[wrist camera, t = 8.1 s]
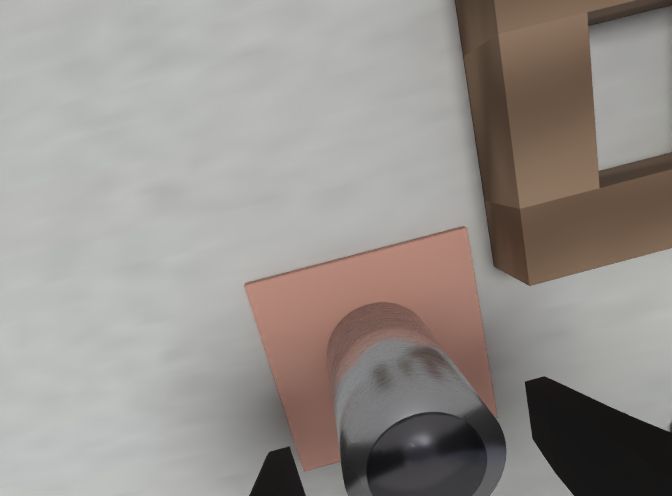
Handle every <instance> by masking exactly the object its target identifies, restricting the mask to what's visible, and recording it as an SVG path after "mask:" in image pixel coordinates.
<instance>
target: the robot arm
mask: <svg viewBox="0 0 672 496" xmlns="http://www.w3.org/2000/svg"><path fill="white" fill-rule="evenodd" d="M525 387H526V394H527V402H528V409H529V416H530V424H531V431H532V438H533V440H534V442H535V443H536V445H537V446H538V448H539V449H540V451H541V452H542V454H543V455H544V457H545V458H546V460H547V461H548V463H549V464H550V466H551V467H552V469H553V470H554V472H555V473H556V474H557V475H558V477H559V478H560V479H561V480H562V482H563V483H564V484H565V485H566V486H567V488H568V489H569V490H570V491H571V492H572V494H573V495H574V496H672V433H671V432H668V431H666V430H663V429H661V428H658V427H656V426H653V425H651V424H648V423H646V422H643V421H641V420H639V419H636V418H634V417H632V416H629V415H627V414H625V413H623V412H620V411H618V410H616V409H614V408H611V407H609V406H607V405H605V404H603V403H601V402H598V401H596V400H594V399H592V398H590V397H588V396H586V395H583V394H581V393H579V392H577V391H575V390H573V389H571V388H569V387H567V386H564V385H562V384H560V383H558V382H556V381H554V380H552V379H549V378H547V377H545V376H544V377H540V378H537V379H533V380H530V381H526V382H525ZM249 496H306V495H305V492H304V489H303V486H302V483H301V480H300V477H299V474H298V471H297V468H296V465H295V462H294V459H293V456H292V453H291V450H290V447H286V448H282V449H278V450H275V451H271V452H269V453H268V455H267V456H266V459H265V461H264V463H263V466H262V468H261V470H260V473H259V475H258V477H257V480H256V482H255V484H254V486H253V488H252V491H251V493H250V495H249Z"/></svg>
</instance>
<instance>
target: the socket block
mask: <svg viewBox="0 0 672 496" xmlns="http://www.w3.org/2000/svg"><path fill="white" fill-rule="evenodd" d="M455 2H456V9H457V16H458V22H459V29H460V36H461V43H462V50H463V57H464V63H465V70H466V77H467V84H468V91H469V97H470V104H471V111H472V118H473V125H474V132H475V138H476V145H477V152H478V159H479V166H480V173H481V179H482V186H483V193H484V200H485V207H486V214H487V220H488V227H489V234H490V241H491V248H492V254H493V261H494V267H496V268H498V269H500V270H502V271H503V272H505V273H507V274H509V275H511V276H512V277H514V278H516V279H518V280H520V281H521V282H523V283H525V284H527V285H529V286H531V285H535V284H539V283H542V282H546V281H550V280H554V279H557V278H561V277H565V276H569V275H572V274H576V273H580V272H584V271H587V270H591V269H595V268H599V267H602V266H606V265H610V264H614V263H617V262H621V261H625V260H628V259H632V258H636V257H640V256H643V255H647V254H651V253H655V252H658V251H662V250H666V249H670V248H672V152H671V153H668V154H664V155H660V156H656V157H652V158H648V159H644V160H641V161H637V162H633V163H629V164H625V165H621V166H617V167H614V168H610V169H606V170H602V171H598V158H597V144H596V130H595V115H594V101H593V87H592V73H591V58H590V44H589V30H588V25H593V24H597V23H601V22H605V21H609V20H613V19H617V18H621V17H625V16H629V15H633V14H637V13H641V12H645V11H649V10H653V9H657V8H661V7H665V6H669V5H672V0H455Z"/></svg>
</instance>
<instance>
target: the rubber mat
mask: <svg viewBox="0 0 672 496" xmlns="http://www.w3.org/2000/svg"><path fill="white" fill-rule="evenodd" d="M244 287H245V290H246V293H247V296H248V299H249V302H250V305H251V308H252V311H253V314H254V318H255V321H256V324H257V327H258V330H259V333H260V336H261V339H262V342H263V345H264V349H265V352H266V355H267V358H268V361H269V364H270V367H271V370H272V373H273V376H274V380H275V383H276V386H277V389H278V392H279V395H280V398H281V401H282V404H283V407H284V410H285V414H286V417H287V420H288V423H289V426H290V429H291V432H292V435H293V438H294V441H295V445H296V448H297V451H298V454H299V457H300V460H301V463H302V466H303V469H304V471H308V470H311V469H315V468H318V467H322V466H326V465H329V464H333V463H336V462H340V461H341V457H340V450H339V442H338V435H337V427H336V420H335V413H334V405H333V398H332V390H331V383H330V375H329V368H328V360H327V348H328V343H329V339H330V337H331V334H332V332H333V330H334V329H335V327H336V326H337V324H338V323H339V322H340V321H341V320H342V319H343V318H344V317H345V316H346V315H347V314H349V313H350V312H352V311H353V310H355V309H357V308H359V307H361V306H364V305H367V304H371V303H378V302H388V303H395V304H398V305H401V306H404V307H406V308H408V309H410V310H411V311H413V312H414V313H415V314H416V315H418V316H419V317H420V319H421V320H422V321H423V322H424V324H425V325H426V326H427V328H428V329H429V330H430V332H431V333H432V334H433V336H434V337H435V338H436V340H437V341H438V342H439V344H440V345H441V346H442V348H443V349H444V350H445V352H446V353H447V354H448V356H449V357H450V358H451V360H452V361H453V362H454V363H455V365H456V366H457V367H458V369H459V370H460V371H461V373H462V374H463V375H464V377H465V378H466V379H467V381H468V382H469V383H470V385H471V386H472V387H473V389H474V390H475V391H476V393H477V394H478V395H479V397H480V398H481V399H482V401H483V402H484V403H485V405H486V406H487V407H488V409H489V410H490V411H491V413H492V414H493V415H494V417H495V418H497V412H496V406H495V399H494V393H493V387H492V381H491V375H490V368H489V362H488V356H487V350H486V343H485V337H484V331H483V325H482V319H481V312H480V306H479V300H478V294H477V288H476V281H475V275H474V269H473V263H472V257H471V250H470V244H469V238H468V232H467V228H466V227H460V228H456V229H452V230H448V231H444V232H441V233H437V234H433V235H429V236H425V237H421V238H418V239H414V240H410V241H406V242H402V243H398V244H395V245H391V246H387V247H383V248H379V249H375V250H372V251H368V252H364V253H360V254H356V255H352V256H349V257H345V258H341V259H337V260H333V261H329V262H326V263H322V264H318V265H314V266H310V267H306V268H303V269H299V270H295V271H291V272H287V273H283V274H280V275H276V276H272V277H268V278H264V279H260V280H257V281H253V282H249V283H245V285H244Z"/></svg>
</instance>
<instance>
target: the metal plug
mask: <svg viewBox="0 0 672 496" xmlns="http://www.w3.org/2000/svg"><path fill="white" fill-rule="evenodd" d="M327 360H328V368H329V375H330V383H331V390H332V398H333V405H334V413H335V420H336V427H337V435H338V442H339V450H340V457H341V465H342V472H343V479H344V484H345V488H346V491H347V493H348V496H490V495H491V493H492V492H493V490H494V489H495V487H496V486H497V484H498V482H499V480H500V478H501V475H502V472H503V470H504V465H505V461H506V442H505V438H504V434H503V431H502V429H501V427H500V425H499V423H498V421H497V420H496V418H495V417H494V415H493V414H492V413H491V411H490V410H489V409H488V407H487V406H486V405H485V403H484V402H483V401H482V399H481V398H480V397H479V395H478V394H477V393H476V391H475V390H474V389H473V387H472V386H471V385H470V383H469V382H468V381H467V379H466V378H465V377H464V375H463V374H462V373H461V371H460V370H459V369H458V367H457V366H456V365H455V363H454V362H453V361H452V360H451V358H450V357H449V356H448V354H447V353H446V352H445V350H444V349H443V348H442V346H441V345H440V344H439V342H438V341H437V340H436V338H435V337H434V336H433V334H432V333H431V332H430V330H429V329H428V328H427V326H426V325H425V324H424V322H423V321H422V320H421V319H420V317H419V316H418V315H416V314H415V313H414V312H413V311H411V310H410V309H408V308H406V307H404V306H401V305H398V304H395V303H388V302H378V303H371V304H367V305H364V306H361V307H359V308H357V309H355V310H353V311H352V312H350V313H349V314H347V315H346V316H345V317H344V318H343V319H342V320H341V321H340V322H339V323H338V324H337V326H336V327H335V329H334V330H333V332H332V334H331V337H330V339H329V343H328V348H327Z"/></svg>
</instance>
